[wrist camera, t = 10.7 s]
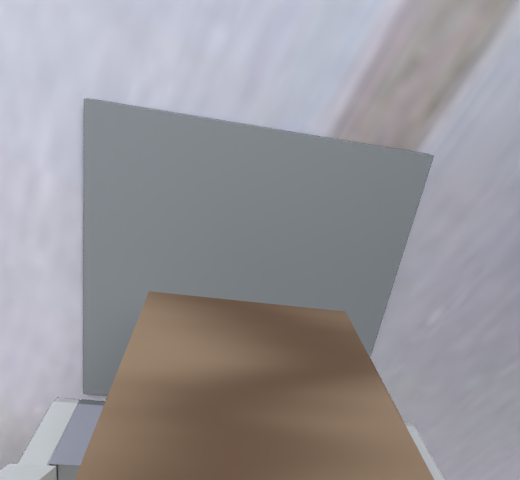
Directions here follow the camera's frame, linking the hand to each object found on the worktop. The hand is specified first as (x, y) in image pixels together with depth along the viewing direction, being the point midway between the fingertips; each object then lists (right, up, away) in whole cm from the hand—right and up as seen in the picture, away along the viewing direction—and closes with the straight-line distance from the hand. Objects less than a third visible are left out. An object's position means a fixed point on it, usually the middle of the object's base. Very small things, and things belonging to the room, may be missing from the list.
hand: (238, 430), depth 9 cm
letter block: (0, +1, +2) cm, 2 cm away
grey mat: (0, +3, +7) cm, 7 cm away
